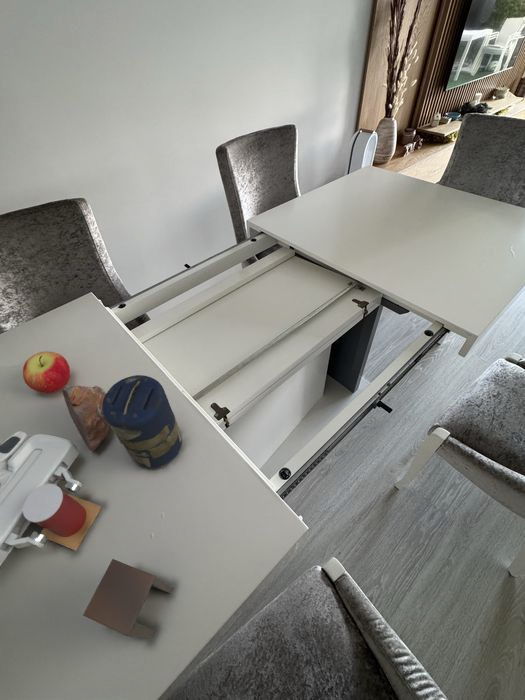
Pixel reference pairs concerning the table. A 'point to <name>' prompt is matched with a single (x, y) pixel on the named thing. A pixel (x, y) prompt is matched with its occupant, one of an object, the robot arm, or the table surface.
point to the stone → (87, 413)
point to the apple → (46, 372)
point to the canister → (143, 420)
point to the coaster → (77, 538)
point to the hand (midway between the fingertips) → (62, 513)
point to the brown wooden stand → (123, 599)
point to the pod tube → (54, 510)
